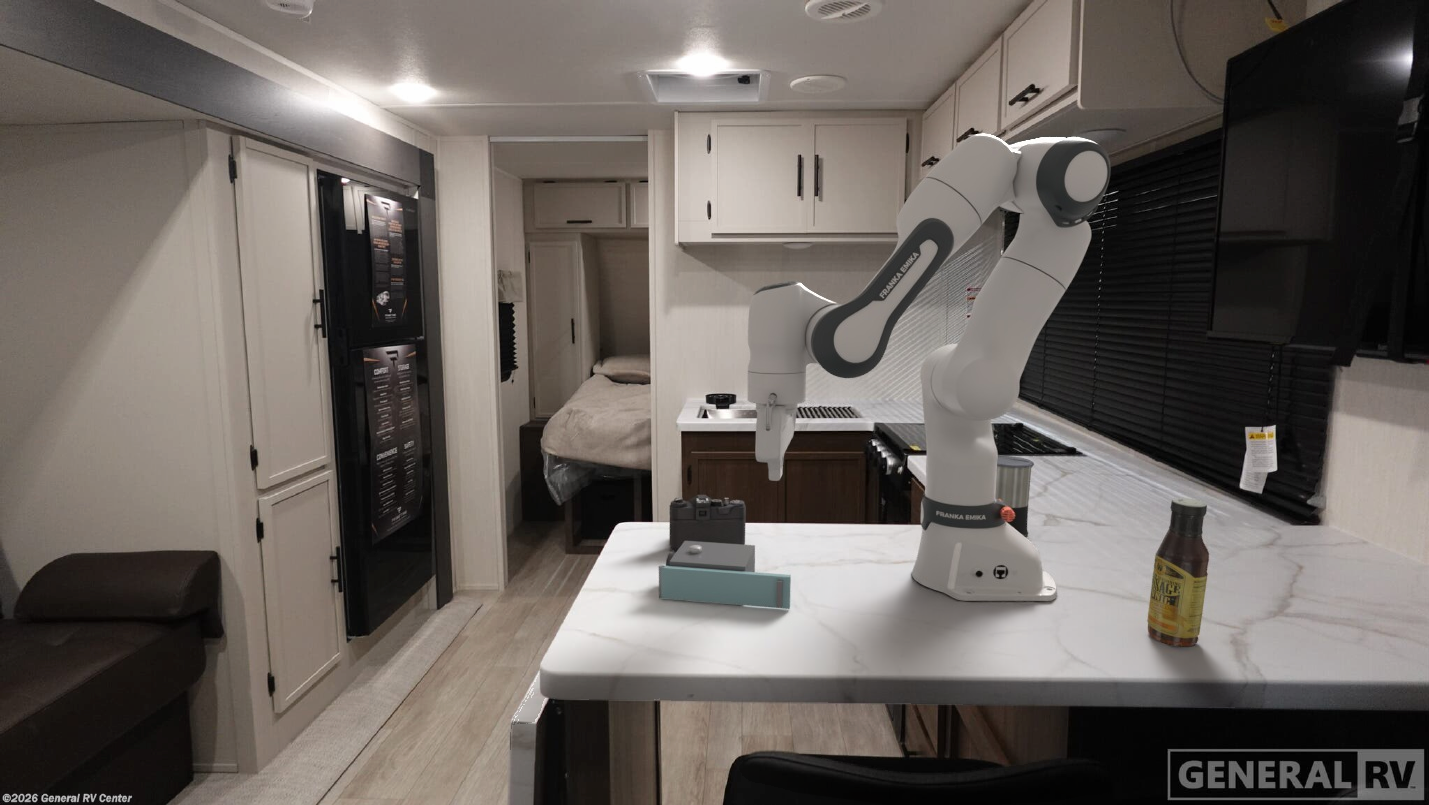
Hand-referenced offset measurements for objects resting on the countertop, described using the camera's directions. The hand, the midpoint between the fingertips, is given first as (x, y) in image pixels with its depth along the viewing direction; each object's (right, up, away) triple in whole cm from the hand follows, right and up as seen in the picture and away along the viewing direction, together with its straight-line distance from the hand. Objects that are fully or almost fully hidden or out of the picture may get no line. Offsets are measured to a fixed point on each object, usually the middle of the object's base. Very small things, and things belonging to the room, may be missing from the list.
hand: (775, 478), depth 116 cm
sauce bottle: (+54, -21, -12) cm, 59 cm away
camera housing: (-10, -19, +6) cm, 22 cm away
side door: (-8, -19, -1) cm, 21 cm away
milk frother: (+46, -15, +32) cm, 58 cm away
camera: (-11, -16, +28) cm, 34 cm away
